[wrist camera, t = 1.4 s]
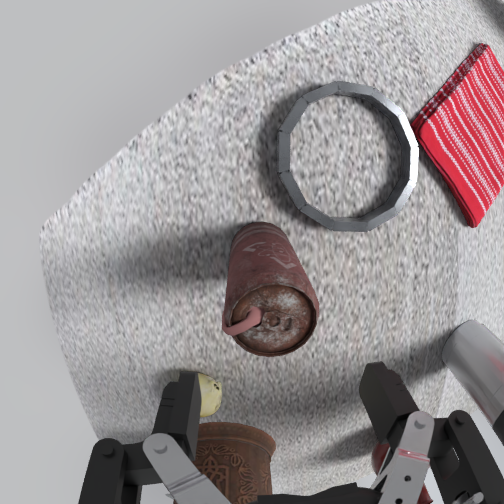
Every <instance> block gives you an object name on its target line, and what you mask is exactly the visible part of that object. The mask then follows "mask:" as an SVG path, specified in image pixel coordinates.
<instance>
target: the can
mask: <svg viewBox="0 0 504 504" xmlns="http://www.w3.org/2000/svg"><path fill="white" fill-rule="evenodd" d="M318 317H319V302H318V299H317V296H316V294H315V291H314V289H313V287H312V285H311V283H310V281H309V279H308V277H307V275H306V273H305V271H304V269H303V267H302V265H301V263H300V261H299V259H298V257H297V255H296V253H295V251H294V249H293V247H292V246H291V244H290V242H289V240H288V238H287V236H286V234H285V233H284V232H283V231H282V230H281V229H280V228H279V227H277V226H275V225H273V224H271V223H266V222H255V223H251V224H249V225H247V226H244V227H243V228H242V229H241V230H240V231H239V232H237V234H236V235H235V237H234V239H233V241H232V245H231V250H230V259H229V269H228V278H227V288H226V297H225V307H224V311H223V315H222V330H223V331H224V332H225V333H226V334H228V335H231V336H232V337H233V338H234V340H235V341H236V343H237V344H238V345H240V346H241V347H242V348H243V349H244V350H246V351H248V352H250V353H253V354H255V355H258V356H266V357H274V356H283V355H285V354H288V353H291V352H293V351H295V350H297V349H298V348H300V347H301V346H303V345H304V344H305V343H306V342H307V341H308V339H309V338H310V337H311V336H312V335H313V332H314V330H315V327H316V324H317V320H318Z"/></svg>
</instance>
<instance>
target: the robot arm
mask: <svg viewBox="0 0 504 504" xmlns="http://www.w3.org/2000/svg"><path fill="white" fill-rule="evenodd" d="M442 360H443V362H444V363H445V364H446V366H447V367H448V368H449V369H450V371H451V372H452V373H453V375H454V376H455V377H456V379H457V380H458V381H459V383H460V384H461V385H462V387H463V388H464V389H465V391H466V392H467V393H468V395H469V396H470V397H471V399H472V400H473V401H474V403H475V404H476V406H477V407H478V408H479V410H480V411H481V413H482V414H483V415H484V417H485V418H486V420H487V421H488V423H489V424H490V426H491V427H492V429H493V430H494V432H495V433H496V435H497V436H498V438H499V439H500V441H501V442H502V444H503V446H504V343H503V342H502V341H501V340H500V339H499V338H497V337H496V336H495V335H494V334H493V333H492V332H491V331H490V330H489V329H488V328H487V327H486V326H485V325H484V324H480V323H479V322H478V321H476V320H469V321H467V322H465V323H463V324H462V325H460V326H459V327H458V328H457V329H456V330H455V331H454V332H453V333H452V334H451V336H450V337H449V338H448V340H447V342H446V343H445V346H444V348H443V351H442ZM359 393H360V397H361V399H362V401H363V404H364V406H365V408H366V411H367V413H368V415H369V418H370V420H371V423H372V425H373V427H374V430H375V432H376V435H377V437H378V440H379V442H380V445H383V444H386V443H389V445H390V448H389V449H388V452H387V454H386V457H385V459H384V462H383V464H382V466H381V469H380V471H379V473H378V475H377V477H376V479H375V481H374V483H373V484H372V486H371V488H370V489H369V488H363V487H357V483H356V482H354V483H350V484H345V485H340V486H335V487H332V488H329V489H327V490H325V491H322V492H319V493H317V494H314V495H311V496H300V495H289V494H273V495H257V500H256V501H252V502H249V503H246V504H417V501H418V498H419V495H420V493H421V490H422V486H423V483H424V480H425V477H426V474H427V470H428V466H429V464H430V467H431V469H432V472H433V474H434V477H435V480H436V482H437V485H438V488H439V490H440V493H441V496H442V499H443V501H444V504H504V479H503V476H502V474H501V472H500V470H499V468H498V466H497V464H496V462H495V460H494V458H493V456H492V454H491V452H490V450H489V449H488V446H487V445H486V443H485V441H484V439H483V437H482V435H481V434H480V432H479V430H478V428H477V427H476V425H475V423H474V421H473V420H472V418H471V416H470V415H469V414H468V413H467V412H465V411H462V410H456V411H453V412H452V413H451V414H450V415H449V417H448V418H433V417H432V416H431V415H430V414H428V413H427V412H424V411H420V410H419V409H418V407H417V405H416V403H415V402H414V400H413V398H412V396H411V395H410V393H409V391H408V390H407V388H406V386H405V385H404V384H403V381H402V380H401V378H400V376H399V375H398V374H396V373H395V372H394V371H393V370H388V369H387V368H386V366H385V364H384V363H383V362H382V361H380V362H374V363H368V364H367V365H366V367H365V370H364V373H363V376H362V379H361V382H360V386H359ZM201 403H202V397H201V389H200V383H199V377H198V373H197V372H183V371H182V372H181V374H180V378H179V382H169V384H168V385H167V386H166V387H165V388H164V390H163V394H162V399H161V401H160V406H159V409H158V413H157V417H156V421H155V424H154V428H153V432H152V434H151V435H150V436H149V437H147V438H146V439H145V441H143V442H140V443H135V444H125V445H122V444H121V443H120V442H119V441H117V440H115V439H111V438H105V439H102V440H100V441H98V442H97V443H96V444H95V445H94V447H93V450H92V453H91V457H90V460H89V464H88V468H87V471H86V475H85V478H84V482H83V486H82V491H81V495H80V499H79V503H78V504H140V500H141V491H142V485H149V484H157V483H163V484H164V485H165V487H166V488H167V489H168V491H169V492H170V494H171V495H172V496H173V498H174V499H175V500H176V502H177V503H178V504H231V503H230V502H229V501H228V500H227V499H226V497H225V496H224V495H223V494H222V493H221V492H220V491H219V490H218V489H217V488H216V487H215V486H214V484H213V483H212V482H211V481H210V480H209V479H208V478H207V477H206V476H205V475H204V474H202V473H200V472H199V471H198V469H197V468H196V467H195V466H194V465H193V463H192V462H191V461H195V456H196V447H197V438H198V429H199V421H200V412H201ZM453 448H454V449H453ZM454 450H455V451H454ZM455 452H456V453H455ZM456 454H457V456H458V458H459V460H458V458H457V456H456Z"/></svg>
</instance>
